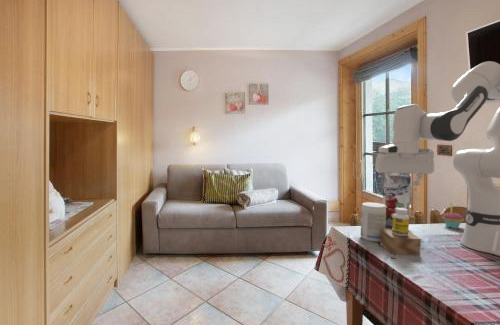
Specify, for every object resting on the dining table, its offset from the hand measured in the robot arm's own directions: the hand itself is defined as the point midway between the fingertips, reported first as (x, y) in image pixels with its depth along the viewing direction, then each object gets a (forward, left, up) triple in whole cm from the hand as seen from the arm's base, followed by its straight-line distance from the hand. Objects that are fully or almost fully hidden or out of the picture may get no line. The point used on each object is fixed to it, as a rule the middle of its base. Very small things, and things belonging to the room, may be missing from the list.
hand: (403, 185), depth 103 cm
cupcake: (-40, -32, -25) cm, 57 cm away
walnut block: (0, 0, -25) cm, 25 cm away
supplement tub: (+6, -11, -25) cm, 28 cm away
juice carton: (-11, -28, -25) cm, 39 cm away
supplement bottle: (0, 0, -19) cm, 19 cm away
